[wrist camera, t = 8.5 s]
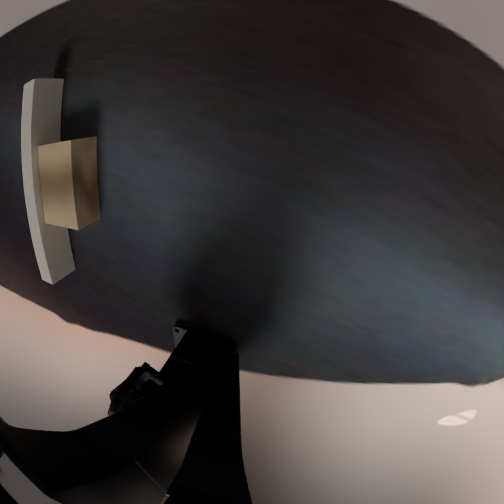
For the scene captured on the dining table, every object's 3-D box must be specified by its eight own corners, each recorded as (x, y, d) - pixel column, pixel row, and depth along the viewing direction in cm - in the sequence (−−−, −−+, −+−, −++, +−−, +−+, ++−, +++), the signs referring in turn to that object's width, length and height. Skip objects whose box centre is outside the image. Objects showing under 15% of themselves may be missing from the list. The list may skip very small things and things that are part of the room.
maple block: (103, 217, 23) (78, 230, 20) (68, 212, 25) (45, 223, 22) (98, 136, 20) (70, 140, 17) (62, 141, 21) (37, 146, 18)
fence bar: (75, 269, 27) (52, 284, 24) (64, 264, 28) (42, 279, 24) (63, 78, 18) (34, 78, 14) (52, 83, 18) (24, 84, 15)
